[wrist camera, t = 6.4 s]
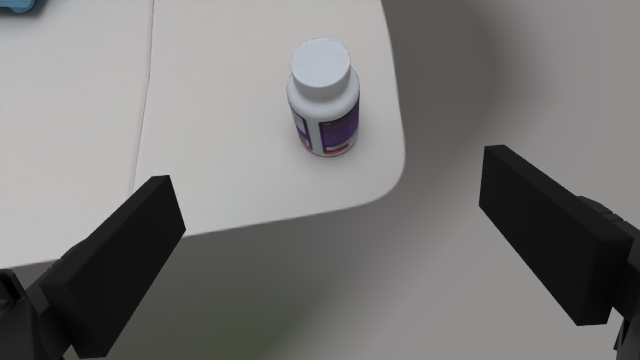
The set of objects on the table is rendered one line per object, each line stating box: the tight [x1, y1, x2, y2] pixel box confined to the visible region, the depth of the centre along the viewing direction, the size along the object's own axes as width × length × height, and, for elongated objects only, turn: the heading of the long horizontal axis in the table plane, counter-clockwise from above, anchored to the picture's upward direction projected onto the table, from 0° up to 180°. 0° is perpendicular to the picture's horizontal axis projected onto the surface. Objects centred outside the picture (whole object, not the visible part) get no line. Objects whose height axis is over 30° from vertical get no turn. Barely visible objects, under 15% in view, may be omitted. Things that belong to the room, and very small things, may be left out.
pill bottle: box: [287, 38, 360, 156], centre depth 28 cm, size 5×5×10 cm
